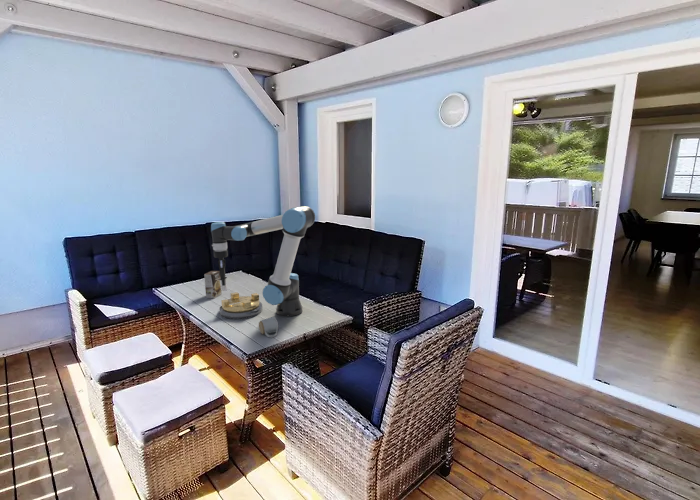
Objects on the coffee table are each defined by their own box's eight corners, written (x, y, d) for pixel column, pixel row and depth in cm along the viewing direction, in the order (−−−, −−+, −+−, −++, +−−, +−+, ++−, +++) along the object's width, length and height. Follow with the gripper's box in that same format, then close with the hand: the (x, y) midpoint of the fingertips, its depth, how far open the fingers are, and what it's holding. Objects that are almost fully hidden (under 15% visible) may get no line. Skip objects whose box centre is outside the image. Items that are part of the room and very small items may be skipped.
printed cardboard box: (214, 298, 236) (212, 274, 233) (205, 297, 237) (203, 274, 234) (222, 294, 245) (220, 270, 241) (213, 293, 246) (211, 270, 243)
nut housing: (264, 303, 228) (264, 298, 227) (260, 318, 205) (259, 313, 204) (224, 305, 225) (224, 300, 224) (215, 320, 202) (215, 315, 201)
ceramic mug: (258, 331, 188) (257, 317, 186) (273, 328, 192) (272, 314, 190) (265, 339, 179) (265, 325, 177) (281, 335, 184) (280, 321, 182)
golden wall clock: (231, 299, 226) (231, 290, 224) (264, 300, 223) (264, 292, 222) (215, 312, 205) (214, 302, 204) (251, 314, 203) (250, 304, 202)
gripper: (213, 248, 209) (217, 287, 214) (212, 252, 197) (216, 294, 202) (227, 247, 211) (231, 286, 216) (227, 251, 199) (231, 293, 204)
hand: (224, 290), depth 209 cm, fingers closed
